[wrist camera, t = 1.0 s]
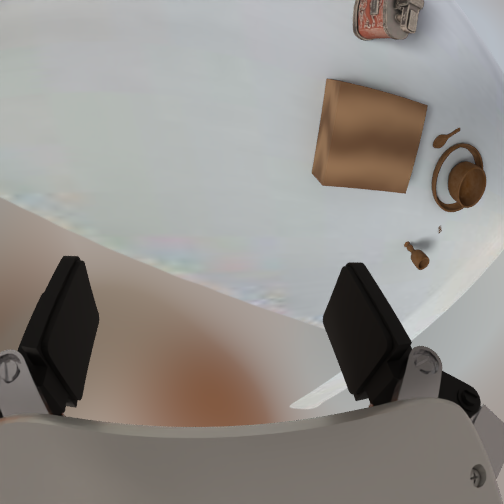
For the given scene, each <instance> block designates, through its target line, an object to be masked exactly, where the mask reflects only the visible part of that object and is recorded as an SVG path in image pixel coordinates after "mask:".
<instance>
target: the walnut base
mask: <svg viewBox="0 0 504 504" xmlns="http://www.w3.org/2000/svg"><path fill="white" fill-rule="evenodd" d="M426 111H427V105H424V104H422V103H419V102H416V101H413V100H410V99H406V98H403V97H400V96H397V95H393V94H390V93H387V92H383V91H379V90H376V89H372V88H368V87H364V86H360V85H356V84H351V83H347V82H342V81H337V80H332V79H326V87H325V94H324V100H323V107H322V114H321V120H320V127H319V133H318V139H317V145H316V151H315V157H314V163H313V168H312V174H313V175H314V176H315V177H316V178H317V180H318V181H319V182H320V183H321V184H322V185H323V186H336V187H348V188H359V189H369V190H379V191H388V192H397V193H405V194H406V190H407V187H408V184H409V180H410V177H411V173H412V170H413V166H414V162H415V158H416V155H417V151H418V147H419V143H420V139H421V134H422V130H423V126H424V121H425V116H426Z"/></svg>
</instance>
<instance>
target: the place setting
mask: <svg viewBox="0 0 504 504" xmlns="http://www.w3.org/2000/svg"><path fill="white" fill-rule="evenodd" d="M459 131H460V128H458V129H456V130H454V131H453V132H452V133H450V134H448V135H439V136H438V137H437V138H436V139H435V140H434V142H433V147H434V148H441V147H442V146H443V145H444V144H445V143H446V141H447V139H448V138H450V137H451V136H452V135H454V134H456V133H457V132H459ZM459 147H463V148H466V149H468V150H469V151H470V152H471V153H472V155H473V157H474V160H475V164H473V163H471V162H467V161H464V162H461V163H459V164H457V165H456V166H455V167H454V168H453V169H452V170H451V172H450V174H449V179H448V190H449V193H450V195H451V196H452V198H453V199H454V200H455V201H456V203H453V204H445V203H443V202H441V201H440V200H439V199H438V197H437V195H436V182H437V177H438V173H439V171H440V168H441V166H442V164H443V162H444V161H445V159H446V158H447V157H448V155H449V154H450V153H451V152H453V151H454V150H455V149H457V148H459ZM485 187H486V175H485V172H484V170H483V161H482V158H481V155H480V153H479V152H478V150H477V149H476V148H475V147H473V146H471V145H469V144H465V143H461V144H456V145H454V146H452V147H450V148H449V149H447V150H446V151H445V152H444V153H443V155H442V156H441V157H440V159H439V161H438V162H437V164H436V167H435V169H434V173H433V177H432V192H433V196H434V199H435V201H436V203H437V204H438V205H439V207H440V208H442V209H443V210H445V211H447V212H456V211H459V210H461V209H463V208H464V207H465V208H469V207H472V206H474V205H475V204H476V203H477V202H478V201H479V200H480V199H481V197H482V195H483V193H484V191H485ZM440 228H441V226H440V227H439V228H438V229H440ZM440 230H441V229H440ZM440 230H439V231H440ZM441 231H442V230H441ZM441 231H440V232H441ZM440 232H439V233H440ZM409 244H410V242H409V241H408V242H406V243H405V244H404V246H405V247H407V250H408V251H410V252H411V253H412V254H411V260H412V262H413V263H414V265H415V266H416V267H417V268H418V269H419V270H422V269H424V268H426V267H427V266H428V264H429V258H428V257H427V256H426V254H425V253H424V252H422V251H421V250H414V248H413V246H412V245H409Z"/></svg>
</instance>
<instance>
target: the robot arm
mask: <svg viewBox="0 0 504 504" xmlns="http://www.w3.org/2000/svg"><path fill="white" fill-rule="evenodd" d="M98 324H99V314H98V311H97V307H96V304H95V301H94V297H93V293H92V290H91V286H90V282H89V278H88V274H87V270H86V266H85V263H84V261H81V260H80V258H79V257H78V256H63V258H62V259H61V261H60V263H59V264H58V266H57V268H56V270H55V272H54V274H53V276H52V278H51V280H50V282H49V284H48V286H47V288H46V290H45V292H44V293H43V294H42V295H41V297H40V299H39V302H38V303H37V305H36V308H35V310H34V312H33V314H32V316H31V319H30V321H29V324H28V326H27V328H26V330H25V333H24V336H23V338H22V341H21V343H20V345H19V348H18V351H15V350H6V351H2V352H1V353H0V504H503V502H502V498H501V494H500V491H499V488H498V485H497V481H496V478H497V476H498V474H499V472H500V470H501V468H502V465H503V463H504V423H503V422H502V421H501V420H500V419H499V418H498V417H497V416H496V415H495V414H494V413H493V412H492V411H490V410H489V409H488V408H487V407H486V406H485V405H484V404H483V405H482V406H480V403H481V402H480V397H479V395H478V393H477V391H476V390H475V389H474V388H473V387H471V386H470V385H468V384H466V383H464V382H462V381H461V380H458V379H457V378H455V377H453V376H451V375H449V374H447V373H445V372H443V371H442V363H441V360H440V358H439V356H438V355H437V354H436V353H435V352H434V351H433V350H431V349H430V348H427V347H424V346H417V347H414V348H413V349H412V348H411V346H410V345H411V343H412V342H411V340H410V338H409V337H408V335H407V333H406V331H405V330H404V328H403V326H402V324H401V323H400V321H399V319H398V318H397V316H396V314H395V313H394V311H393V309H392V308H391V306H390V304H389V303H388V301H387V299H386V298H385V296H384V295H383V293H382V291H381V290H380V288H379V287H378V285H377V283H376V282H375V280H374V279H373V277H372V276H371V274H370V273H369V271H368V269H367V268H366V266H365V265H364V264H363V263H347V264H346V266H344V267H343V268H342V269H341V272H340V275H339V277H338V280H337V283H336V285H335V288H334V290H333V293H332V295H331V298H330V301H329V303H328V305H327V308H326V310H325V313H324V315H323V324H324V327H325V329H326V332H327V334H328V337H329V340H330V342H331V345H332V347H333V350H334V352H335V355H336V358H337V360H338V363H339V366H340V368H341V371H342V374H343V376H344V379H345V382H346V384H347V387H348V390H349V392H350V393H351V394H354V397H355V400H356V401H358V400H363V399H367V398H369V401H370V405H369V407H368V408H364V409H359V410H354V411H349V412H345V413H340V414H334V415H328V416H323V417H316V418H310V419H303V420H296V421H289V422H280V423H270V424H260V425H246V426H228V427H160V426H143V425H130V424H119V423H110V422H101V421H93V420H85V419H79V418H72V417H66V416H65V415H64V412H65V407H66V406H70V407H76V406H77V400H81V399H82V395H83V390H84V384H85V380H86V375H87V370H88V365H89V361H90V356H91V352H92V348H93V344H94V340H95V336H96V332H97V328H98Z"/></svg>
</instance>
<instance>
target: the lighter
mask: <svg viewBox="0 0 504 504" xmlns="http://www.w3.org/2000/svg"><path fill="white" fill-rule="evenodd" d="M423 6H424V1H423V0H356V1H355V5H354V11H353V32H354V34H355V36H356V37H358V38H359V39H361V40H372V39H375V38H392V39H405V38H406V37H407V36H408V34H409V33H415V31H416V26H417V20H418V13H419V11H420V10H421V9H422V8H423Z"/></svg>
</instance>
